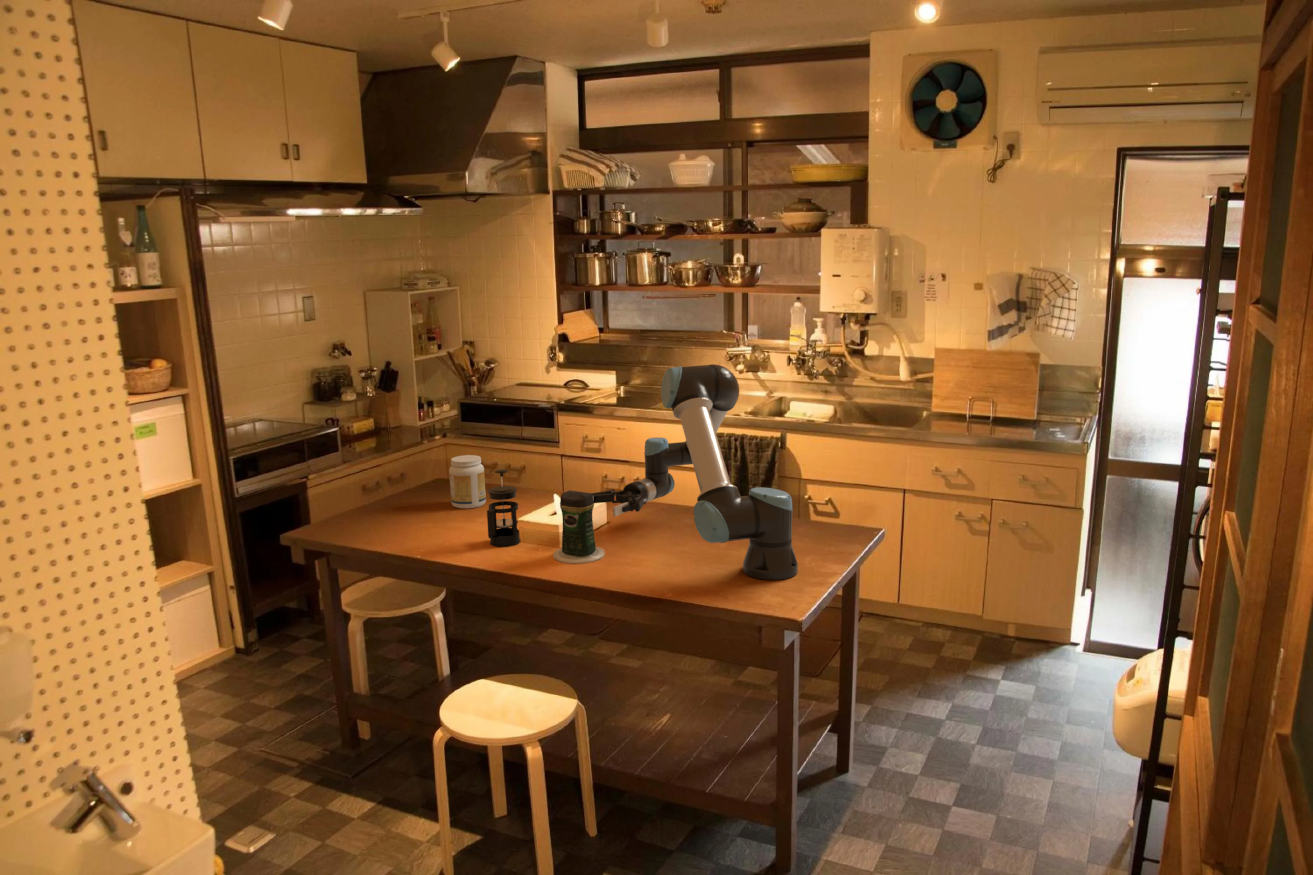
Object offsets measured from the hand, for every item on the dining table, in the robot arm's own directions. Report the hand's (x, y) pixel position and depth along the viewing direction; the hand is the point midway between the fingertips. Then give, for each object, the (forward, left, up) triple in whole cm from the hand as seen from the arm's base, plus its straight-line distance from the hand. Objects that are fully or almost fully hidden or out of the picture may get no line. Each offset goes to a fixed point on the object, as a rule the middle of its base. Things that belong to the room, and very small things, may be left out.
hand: (596, 508), depth 285 cm
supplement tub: (+63, +31, -13) cm, 71 cm away
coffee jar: (-5, +7, -12) cm, 14 cm away
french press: (+15, +26, -13) cm, 32 cm away
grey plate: (-5, +7, -12) cm, 15 cm away
